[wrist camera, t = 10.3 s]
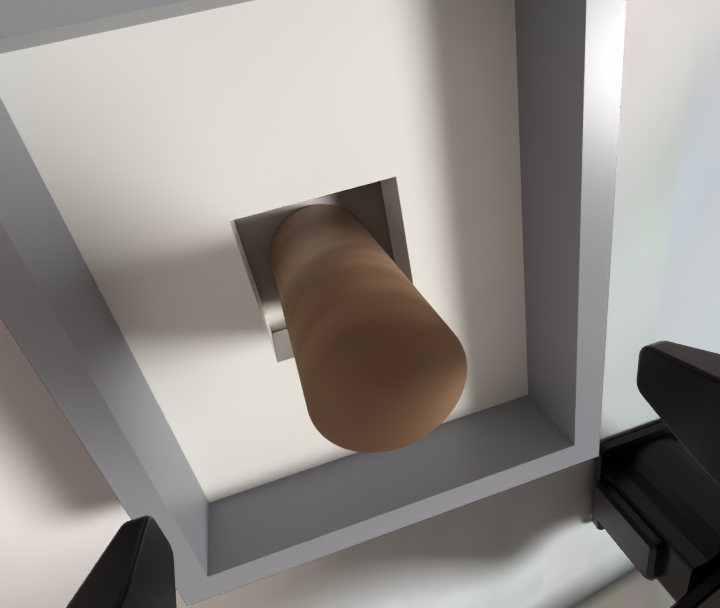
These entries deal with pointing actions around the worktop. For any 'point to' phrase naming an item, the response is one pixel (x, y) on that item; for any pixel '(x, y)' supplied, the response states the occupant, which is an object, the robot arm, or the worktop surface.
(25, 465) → the worktop surface
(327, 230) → the peg
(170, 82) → the box
